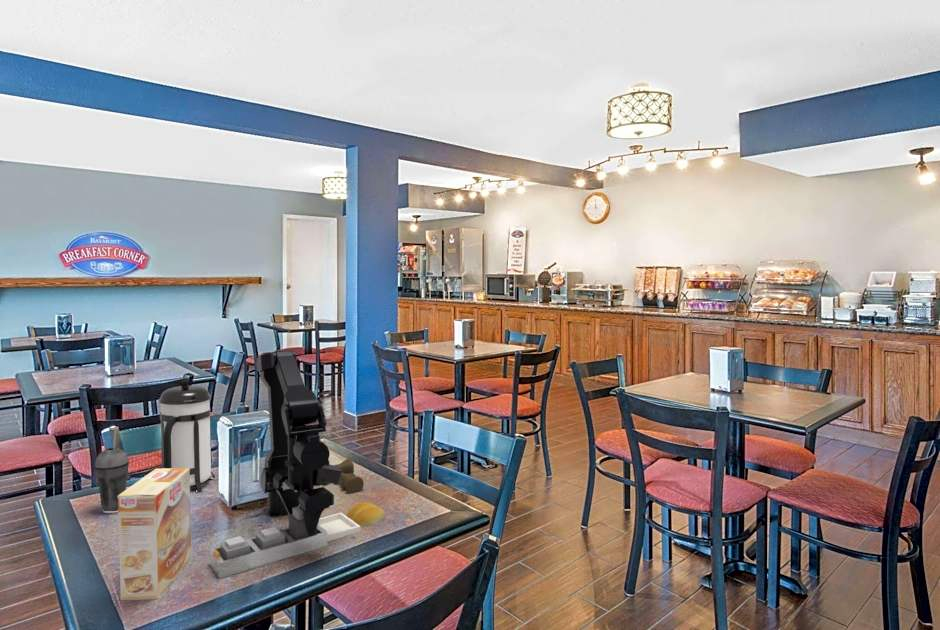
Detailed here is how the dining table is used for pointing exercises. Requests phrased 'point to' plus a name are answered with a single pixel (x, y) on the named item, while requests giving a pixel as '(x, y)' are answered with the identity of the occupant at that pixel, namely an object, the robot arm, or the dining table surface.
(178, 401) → the coffee press
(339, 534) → the tray
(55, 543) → the dining table surface
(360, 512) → the bread roll
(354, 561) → the dining table surface
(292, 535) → the plug
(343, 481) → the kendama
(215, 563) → the power strip
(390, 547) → the dining table surface
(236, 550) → the twin plug
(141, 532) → the coffeecake box
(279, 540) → the twin plug
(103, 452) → the beverage cup
